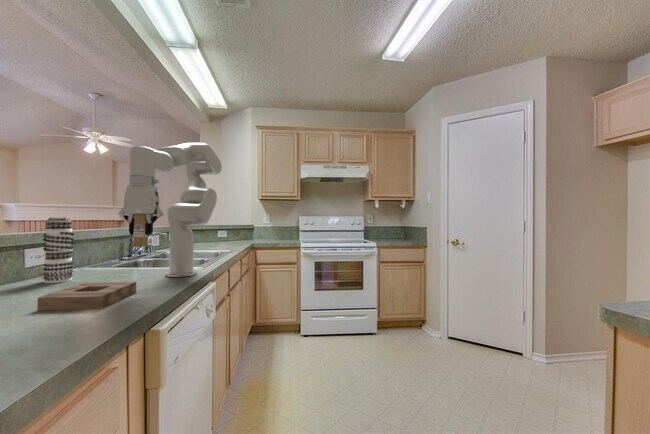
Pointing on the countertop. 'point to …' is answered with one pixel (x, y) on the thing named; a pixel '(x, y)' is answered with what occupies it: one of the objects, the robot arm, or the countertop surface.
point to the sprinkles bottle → (140, 230)
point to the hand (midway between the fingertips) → (140, 234)
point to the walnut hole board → (86, 296)
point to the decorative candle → (58, 250)
